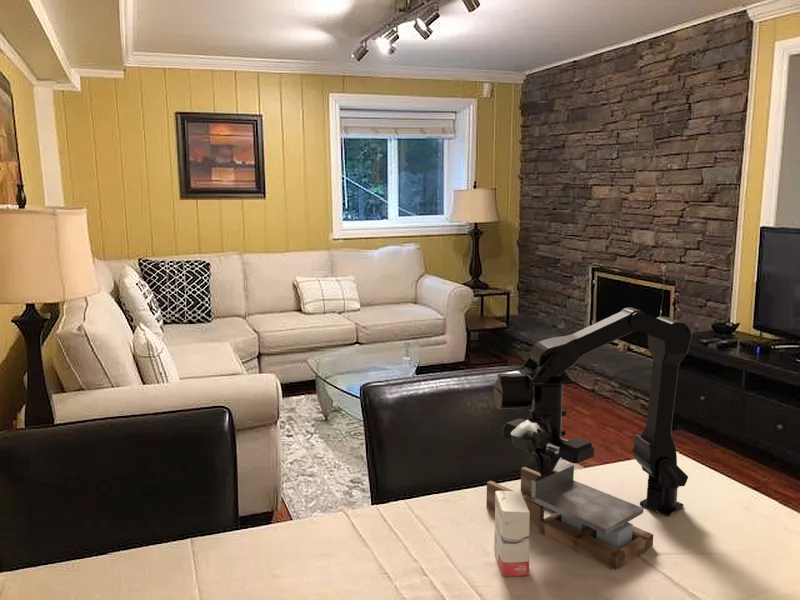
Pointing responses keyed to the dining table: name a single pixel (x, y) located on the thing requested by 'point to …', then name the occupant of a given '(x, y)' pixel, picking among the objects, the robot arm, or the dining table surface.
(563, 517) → the pale blue studded block
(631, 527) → the domed grey cube
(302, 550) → the dining table surface
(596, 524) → the lid
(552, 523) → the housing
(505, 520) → the ink box
